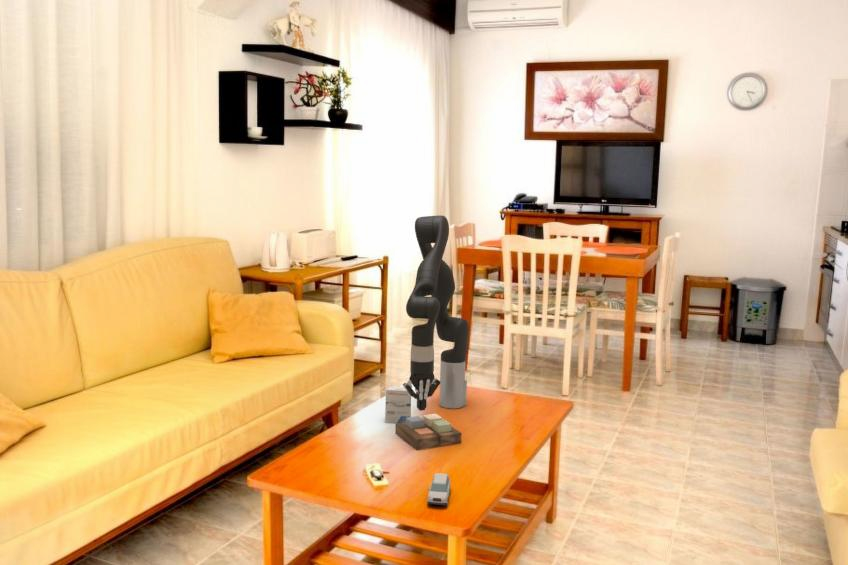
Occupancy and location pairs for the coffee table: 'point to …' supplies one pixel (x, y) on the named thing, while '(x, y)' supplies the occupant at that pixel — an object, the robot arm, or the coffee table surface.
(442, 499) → the toy car
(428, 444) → the keypad housing
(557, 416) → the coffee table surface
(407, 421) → the slate key
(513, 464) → the coffee table surface
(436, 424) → the sage key
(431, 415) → the cream key
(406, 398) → the ink box
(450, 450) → the coffee table surface
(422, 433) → the terracotta key
